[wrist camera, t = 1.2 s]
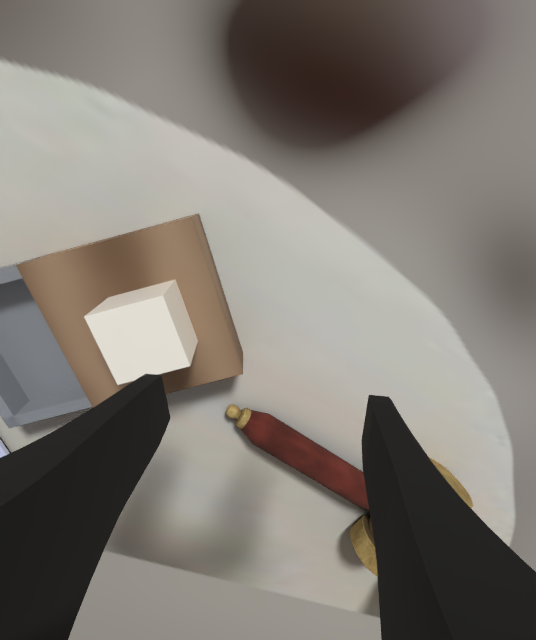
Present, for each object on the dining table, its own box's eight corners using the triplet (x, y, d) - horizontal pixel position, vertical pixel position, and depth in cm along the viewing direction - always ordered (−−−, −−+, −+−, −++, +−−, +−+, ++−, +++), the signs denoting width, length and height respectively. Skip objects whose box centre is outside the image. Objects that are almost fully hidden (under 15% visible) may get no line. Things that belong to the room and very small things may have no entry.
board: (111, 387, 25) (95, 412, 22) (45, 255, 21) (15, 265, 18) (242, 353, 25) (242, 373, 22) (198, 213, 21) (191, 217, 18)
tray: (28, 408, 25) (8, 428, 23) (-52, 281, 21) (-83, 291, 19) (107, 388, 25) (95, 405, 23) (41, 256, 21) (19, 263, 19)
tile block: (135, 357, 21) (117, 385, 18) (108, 297, 19) (83, 316, 16) (198, 340, 21) (190, 366, 18) (175, 279, 19) (162, 295, 16)
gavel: (185, 474, 25) (266, 374, 22) (197, 433, 29) (265, 346, 26) (397, 589, 29) (485, 515, 26) (379, 538, 33) (454, 471, 30)
